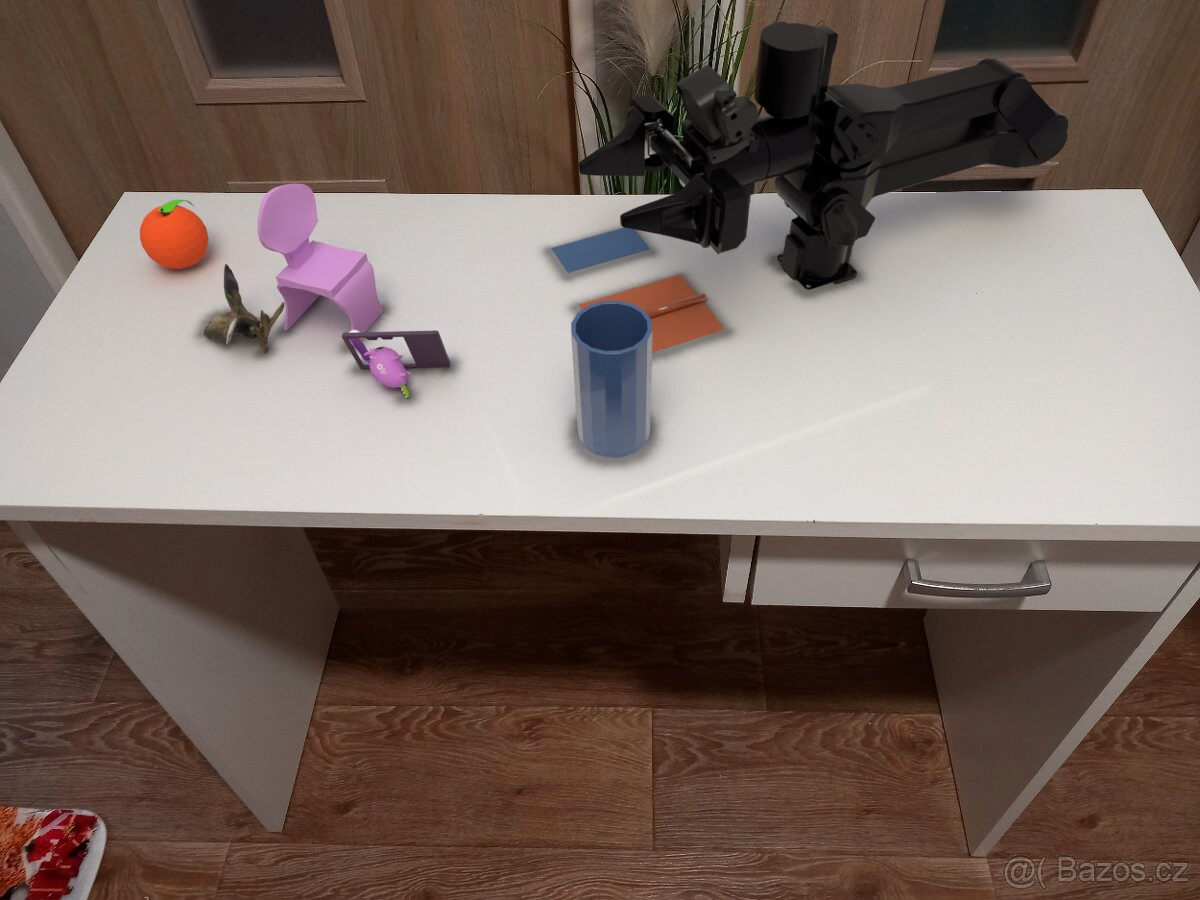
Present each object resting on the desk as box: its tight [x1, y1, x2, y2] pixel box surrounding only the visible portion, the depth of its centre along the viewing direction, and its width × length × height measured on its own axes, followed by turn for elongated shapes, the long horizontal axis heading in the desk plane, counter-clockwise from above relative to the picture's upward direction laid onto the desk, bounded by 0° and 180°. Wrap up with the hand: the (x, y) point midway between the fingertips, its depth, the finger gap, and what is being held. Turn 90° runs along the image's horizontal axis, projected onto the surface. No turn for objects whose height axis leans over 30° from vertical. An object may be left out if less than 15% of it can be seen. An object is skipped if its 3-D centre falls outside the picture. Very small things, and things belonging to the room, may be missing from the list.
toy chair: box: [257, 183, 384, 347], centre depth 89 cm, size 8×9×15 cm
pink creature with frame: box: [341, 329, 451, 399], centre depth 86 cm, size 7×5×9 cm
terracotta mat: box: [578, 274, 726, 354], centre depth 93 cm, size 12×10×1 cm
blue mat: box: [551, 227, 651, 274], centre depth 101 cm, size 10×5×1 cm, turn 114°
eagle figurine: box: [203, 263, 286, 354], centre depth 92 cm, size 8×7×9 cm
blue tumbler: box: [570, 301, 653, 459], centre depth 78 cm, size 7×7×13 cm
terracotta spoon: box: [645, 292, 708, 318], centre depth 93 cm, size 11×3×1 cm, turn 114°
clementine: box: [139, 199, 210, 270], centre depth 100 cm, size 8×7×7 cm
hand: (599, 193), depth 80 cm, fingers open, 9 cm apart
